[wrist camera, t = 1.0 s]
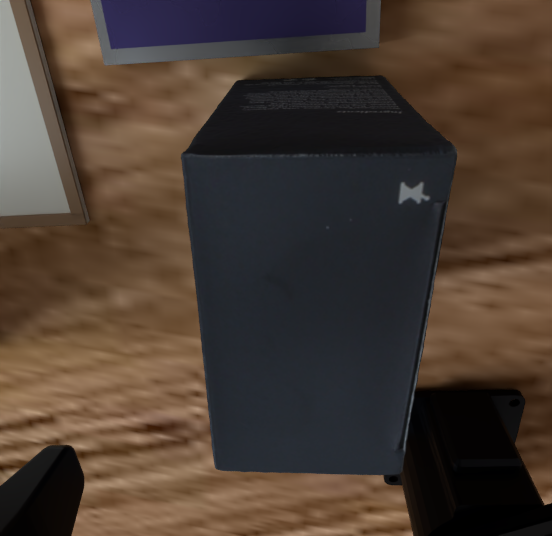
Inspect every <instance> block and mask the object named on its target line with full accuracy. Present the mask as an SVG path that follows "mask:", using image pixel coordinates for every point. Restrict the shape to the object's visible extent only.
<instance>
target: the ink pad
mask: <svg viewBox="0 0 552 536" xmlns="http://www.w3.org/2000/svg"><path fill="white" fill-rule="evenodd" d="M91 5H92V9H93V14H94V19H95V23H96V28H97V32H98V37H99V42H100V46H101V51H102V55H103V60H104V64H105V65H117V64H133V63H148V62H164V61H179V60H194V59H210V58H225V57H241V56H256V55H271V54H287V53H302V52H318V51H333V50H348V49H364V48H379V36H380V9H381V0H91Z"/></svg>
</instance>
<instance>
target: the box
mask: <svg viewBox="0 0 552 536" xmlns="http://www.w3.org/2000/svg"><path fill="white" fill-rule="evenodd" d="M456 159H457V150H456V148H455V146H454V145H453V144H452V143H451V142H450V141H447V140H446V139H445V138H444V137H443V136H442V135H441V134H440V132H438V131H436V130H435V129H434V128H433V127H432V126H431V125H430V124H429V123H427V122H426V121H425V120H424V119H423V117H422V116H421V115H420V114H419V113H418V112H416V110H415V109H414V108H413V107H412V106H411V105H410V104H409V103H408V102H407V101H406V100H405V99H404V98H403V97H402V96H401V95H400V94H399V93H398V92H397V91H396V89H395V88H394V87H393V86H392V85H391V84H390V83H389V82H388V80H387V79H386V78H385V77H383V76H380V75H379V76H349V77H316V78H291V79H261V80H238V81H236V82H235V83H234V85H233V86H232V88H231V89H230V90H229V92H228V93H227V95H226V96H225V97H224V99H223V100H222V101H221V103H220V104H219V105H218V107H217V109H215V111H214V112H213V114H212V115H211V116H210V118H209V119H208V121H207V122H206V123H205V124H204V126H203V127H202V128H201V130H200V131H199V132H198V133H197V135H196V136H195V137H194V139H193V141H192V143H191V144H190V146H189V148H188V149H187V150H186V151H185V152H183V153H182V154H181V160H182V167H183V176H184V186H185V196H186V209H187V216H188V227H189V234H190V241H191V250H192V258H193V269H194V277H195V285H196V293H197V303H198V312H199V323H200V332H201V342H202V353H203V361H204V370H205V380H206V389H207V400H208V410H209V418H210V430H211V439H212V450H213V456H214V464H215V468H216V469H218V470H222V471H240V472H265V473H267V472H278V473H288V472H289V473H316V474H356V475H394V474H400V473H401V472H402V470H403V464H404V457H405V453H406V449H407V447H406V440H407V438H408V430H409V422H410V418H411V411H412V407H413V403H414V399H415V389H416V385H417V381H418V372H419V366H420V362H421V357H422V352H423V348H424V340H425V336H426V329H427V321H428V316H429V311H430V307H431V299H432V294H433V289H434V280H435V275H436V269H437V264H438V259H439V253H440V248H441V243H442V236H443V231H444V225H445V218H446V212H447V206H448V201H449V195H450V190H451V185H452V180H453V175H454V169H455V165H456Z"/></svg>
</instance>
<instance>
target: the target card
mask: <svg viewBox="0 0 552 536" xmlns="http://www.w3.org/2000/svg"><path fill="white" fill-rule="evenodd" d="M89 221H90V220H89V216H88V212H87V209H86V205H85V201H84V198H83V194H82V190H81V186H80V183H79V179H78V175H77V172H76V168H75V164H74V161H73V157H72V153H71V150H70V146H69V142H68V139H67V135H66V131H65V127H64V124H63V120H62V116H61V113H60V109H59V105H58V102H57V98H56V94H55V91H54V87H53V83H52V80H51V76H50V72H49V68H48V65H47V61H46V57H45V54H44V50H43V46H42V43H41V39H40V35H39V32H38V28H37V24H36V21H35V17H34V13H33V9H32V6H31V2H30V0H0V228H22V227H44V226H66V225H86V224H87V223H88V222H89Z"/></svg>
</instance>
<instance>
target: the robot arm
mask: <svg viewBox="0 0 552 536" xmlns="http://www.w3.org/2000/svg"><path fill="white" fill-rule="evenodd" d="M513 399H515V400H513ZM511 400H513V401H511ZM524 405H525V399H524V397H523V395H522V394H521V392H520V391H518V390H513V389H511V390H467V391H422V392H415V399H414V403H413V407H412V411H411V418H410V422H409V430H408V438H407V440H406V447H407V449H406V453H405V457H404V464H403V470H402V472H401V473H400V474H394V475H384V480H385V482H386V483H387V484H389V485H402V486H403V490H404V495H405V499H406V504H407V508H408V513H409V518H410V522H411V527H412V531H413V536H552V503H551V504H547V505H544V503H543V501H542V499H541V497H540V495H539V493H538V491H537V489H536V487H535V485H534V483H533V481H532V479H531V476H530V474H529V472H528V470H527V468H526V466H525V464H524V462H523V460H522V458H521V456H520V454H519V452H518V450H517V448H516V446H515V441H516V437H517V433H518V429H519V425H520V421H521V417H522V413H523V409H524ZM83 489H84V474H83V471H82V469H81V466H80V463H79V460H78V458H77V455H76V452H75V450H74V448H73V447H72V446H70V445H51V446H48V447H46V448H44V449H43V450H42V451H41V452H40V453H38V454H37V455H36V456H35V457H34V458H33V459H31V460H30V461H29V462H28V463H27V464H26V465H24V466H23V467H22V468H21V469H20V470H19V471H17V472H16V473H15V474H14V475H13V476H12V477H10V478H9V479H8V480H7V481H6V482H5V483H3V484H2V485H1V486H0V536H71V535H72V531H73V527H74V524H75V520H76V516H77V512H78V508H79V505H80V501H81V497H82V493H83Z"/></svg>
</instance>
